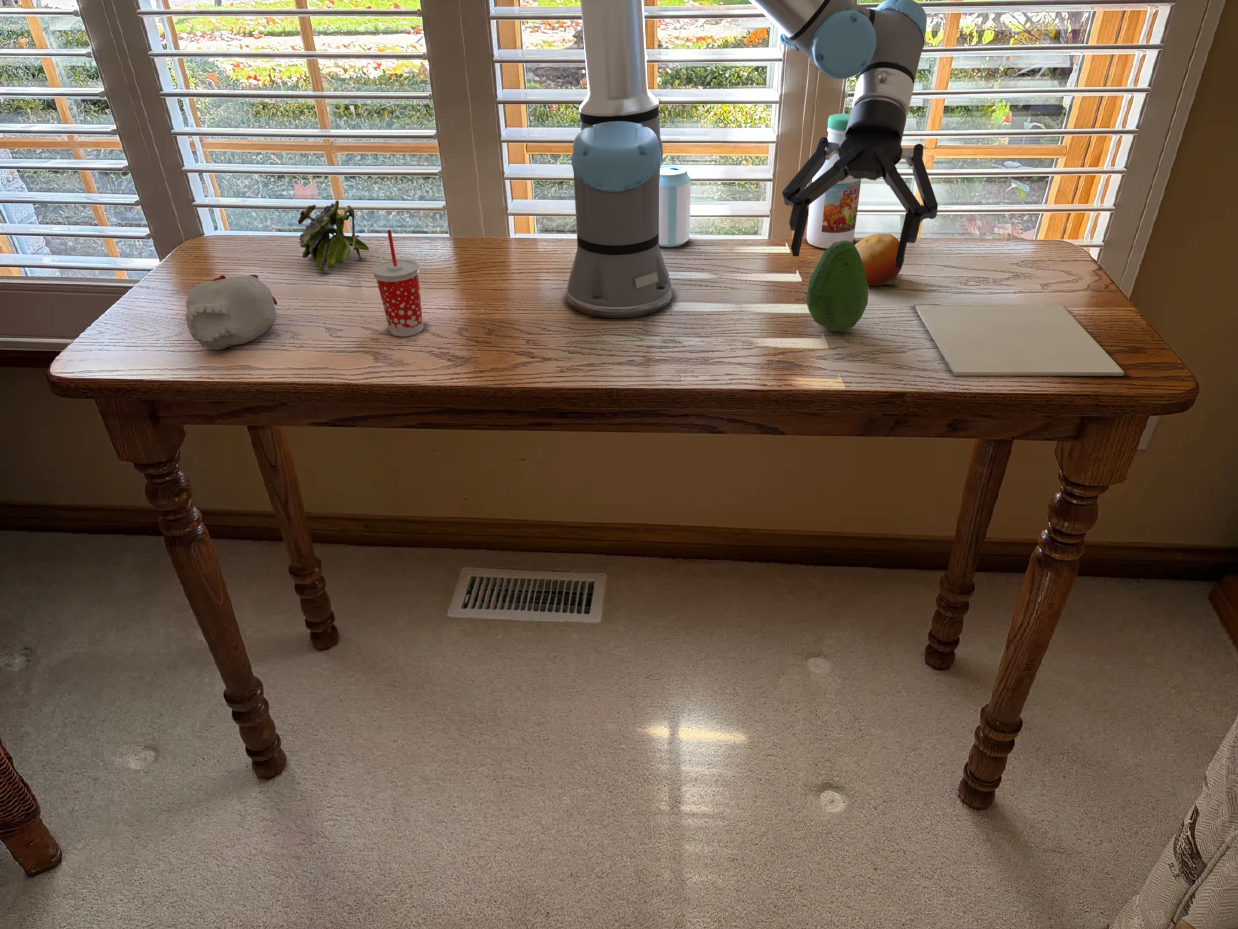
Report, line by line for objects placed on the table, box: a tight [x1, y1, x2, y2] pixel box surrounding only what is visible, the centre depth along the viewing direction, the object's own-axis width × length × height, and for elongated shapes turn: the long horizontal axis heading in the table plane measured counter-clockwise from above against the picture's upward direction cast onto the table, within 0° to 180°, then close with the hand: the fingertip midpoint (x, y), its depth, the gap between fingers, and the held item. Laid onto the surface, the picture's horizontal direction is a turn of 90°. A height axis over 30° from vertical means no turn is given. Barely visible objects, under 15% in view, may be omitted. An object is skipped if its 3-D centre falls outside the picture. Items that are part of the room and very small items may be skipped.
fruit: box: [854, 233, 905, 287], centre depth 129 cm, size 8×8×8 cm
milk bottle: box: [806, 113, 862, 250], centre depth 139 cm, size 8×8×20 cm
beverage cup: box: [371, 229, 424, 337], centre depth 116 cm, size 6×6×14 cm
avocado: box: [805, 240, 869, 332], centre depth 113 cm, size 8×8×12 cm
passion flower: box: [297, 199, 370, 275], centre depth 140 cm, size 11×11×12 cm
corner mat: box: [915, 304, 1125, 377], centre depth 113 cm, size 20×20×1 cm
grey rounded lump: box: [185, 274, 278, 351], centre depth 117 cm, size 9×11×15 cm
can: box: [659, 164, 692, 248], centre depth 143 cm, size 7×7×12 cm
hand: (845, 257), depth 114 cm, fingers open, 13 cm apart
